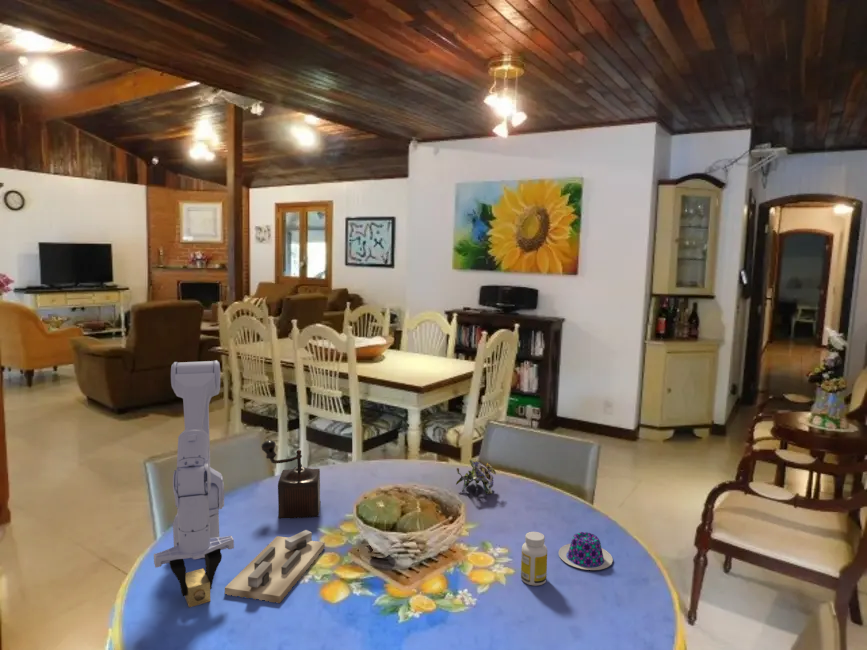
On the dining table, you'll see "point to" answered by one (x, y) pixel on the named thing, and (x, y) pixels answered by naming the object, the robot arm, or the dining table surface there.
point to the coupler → (197, 588)
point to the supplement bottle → (534, 559)
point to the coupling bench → (276, 568)
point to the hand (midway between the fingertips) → (196, 590)
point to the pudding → (586, 552)
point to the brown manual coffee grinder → (296, 487)
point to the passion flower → (479, 476)
